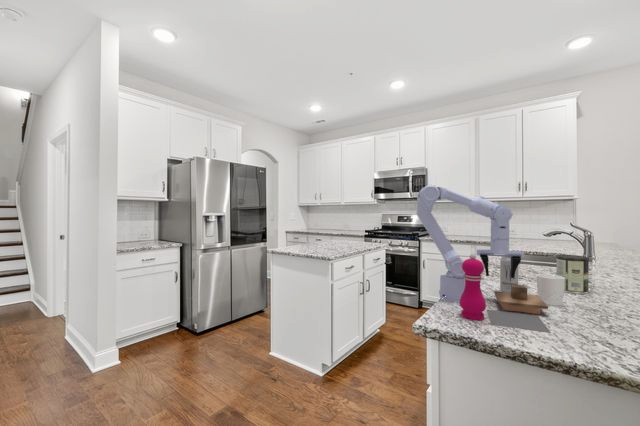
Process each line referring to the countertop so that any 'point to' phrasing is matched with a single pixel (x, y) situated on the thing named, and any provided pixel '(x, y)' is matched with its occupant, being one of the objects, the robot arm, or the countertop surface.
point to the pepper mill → (472, 290)
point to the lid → (520, 297)
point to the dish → (521, 308)
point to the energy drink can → (507, 275)
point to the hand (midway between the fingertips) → (499, 276)
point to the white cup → (551, 289)
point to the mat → (517, 320)
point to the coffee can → (573, 273)
